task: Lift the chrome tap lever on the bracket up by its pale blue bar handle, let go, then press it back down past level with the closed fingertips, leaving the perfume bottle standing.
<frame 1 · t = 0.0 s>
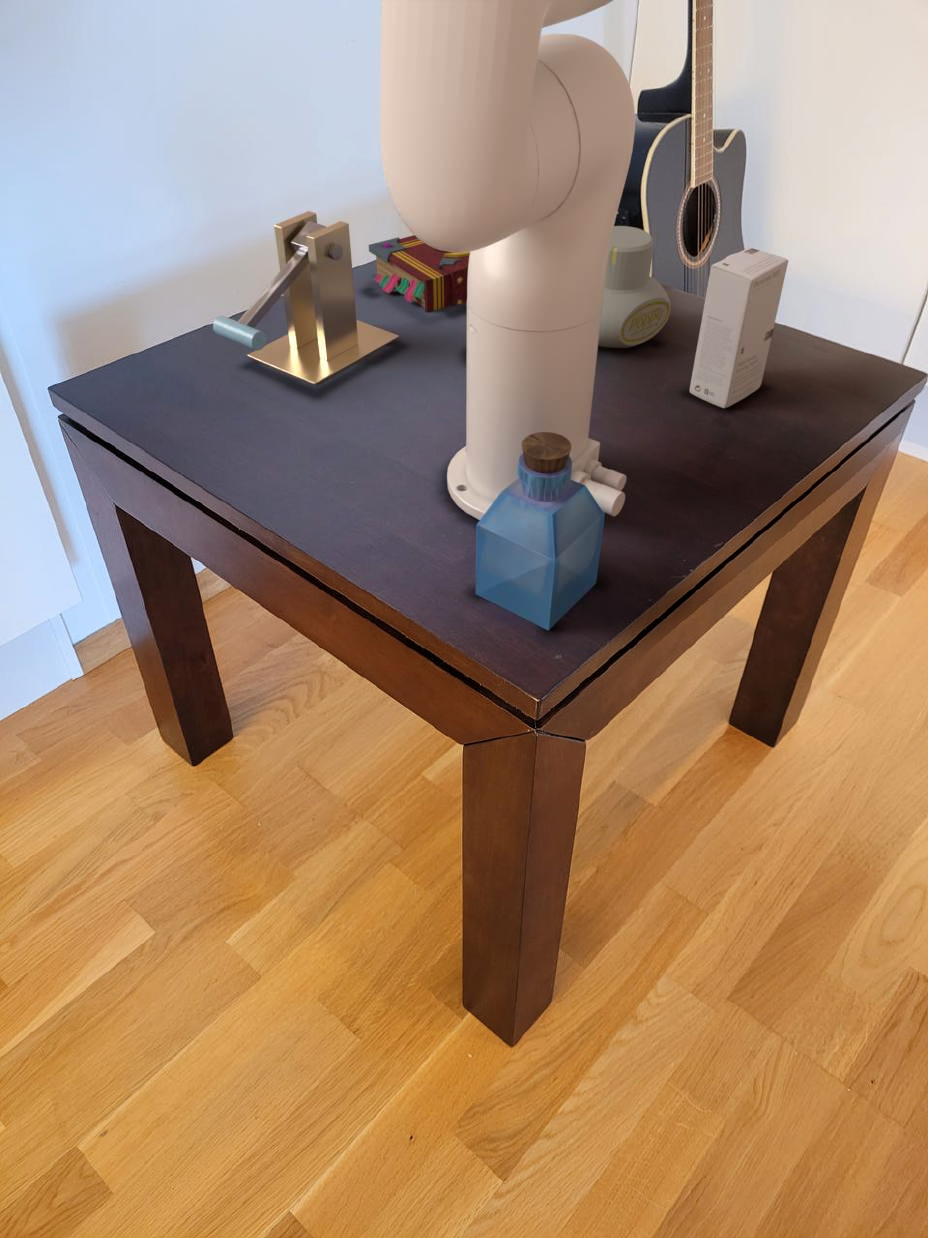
cosmetic box: (723, 391, 88), on the table
air freshener: (611, 337, 96), on the table
decorative book: (451, 289, 105), on the table
perfume bottle: (536, 590, 68), on the table
tap lever: (278, 285, 84), point 9 cm above the table, hinge at -25.0°
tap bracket: (325, 356, 93), on the table
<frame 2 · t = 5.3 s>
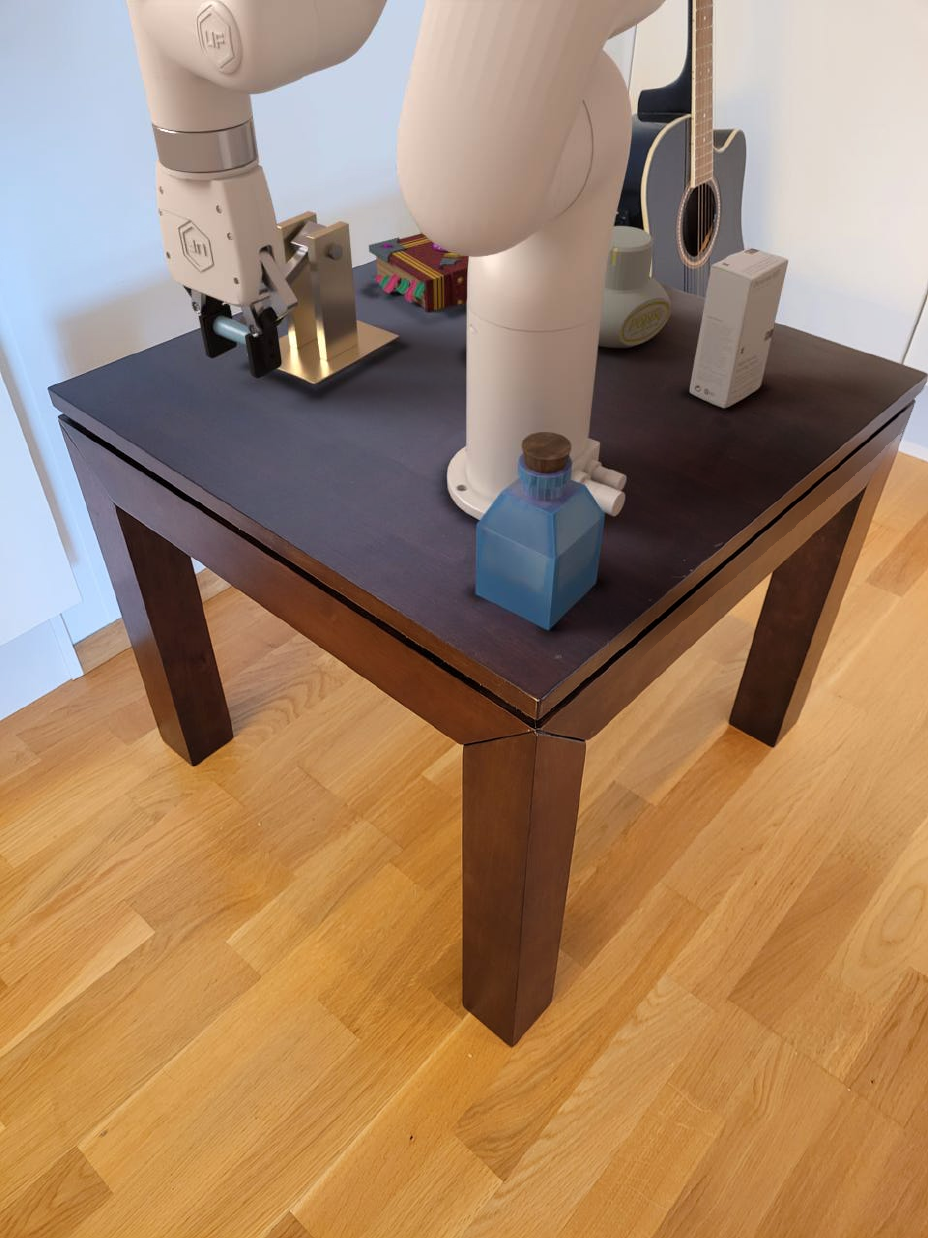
hand: (244, 359, 85), 4 cm above the table, tool pointing down, fingers closed on tap lever, 5 cm apart
tap lever: (278, 285, 84), point 9 cm above the table, hinge at -25.0°, touching gripper
everything else where it was.
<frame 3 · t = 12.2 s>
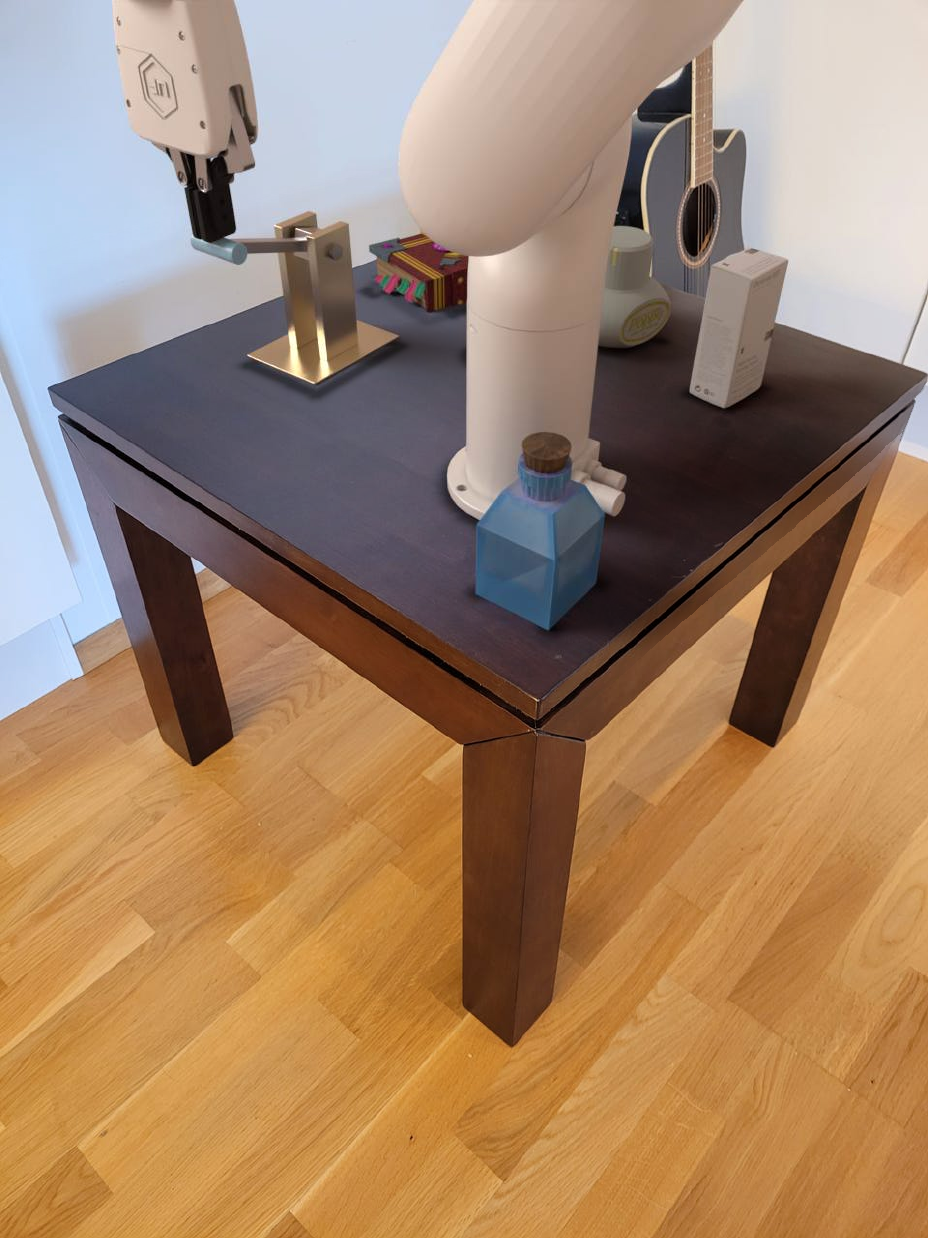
hand: (215, 234, 77), 15 cm above the table, tool pointing down, fingers closed
tap lever: (270, 245, 82), point 12 cm above the table, hinge at 16.3°, touching gripper
everything else where it was.
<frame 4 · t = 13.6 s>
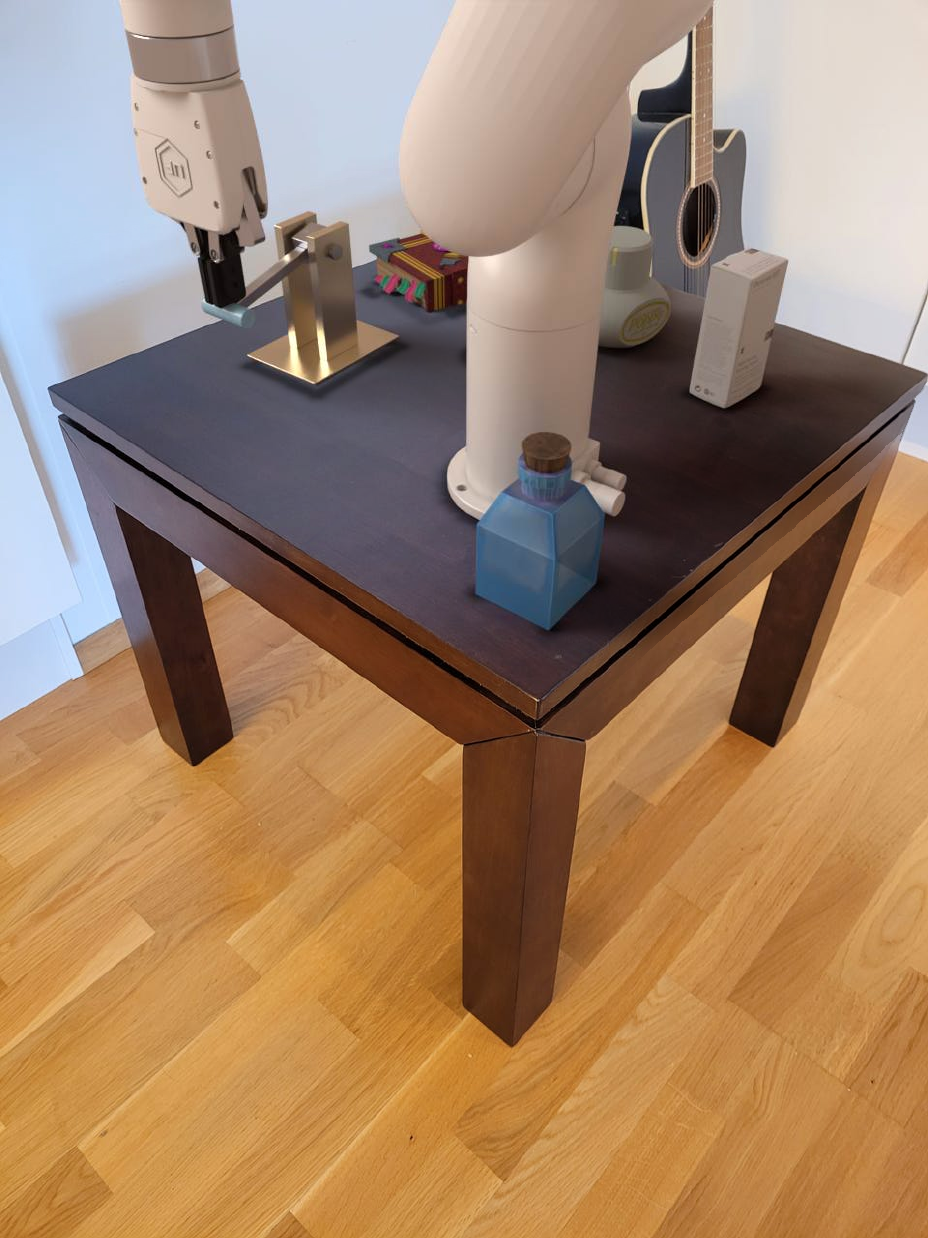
hand: (226, 299, 80), 9 cm above the table, tool pointing down, fingers closed
tap lever: (274, 275, 83), point 10 cm above the table, hinge at -12.6°, touching gripper
everything else where it was.
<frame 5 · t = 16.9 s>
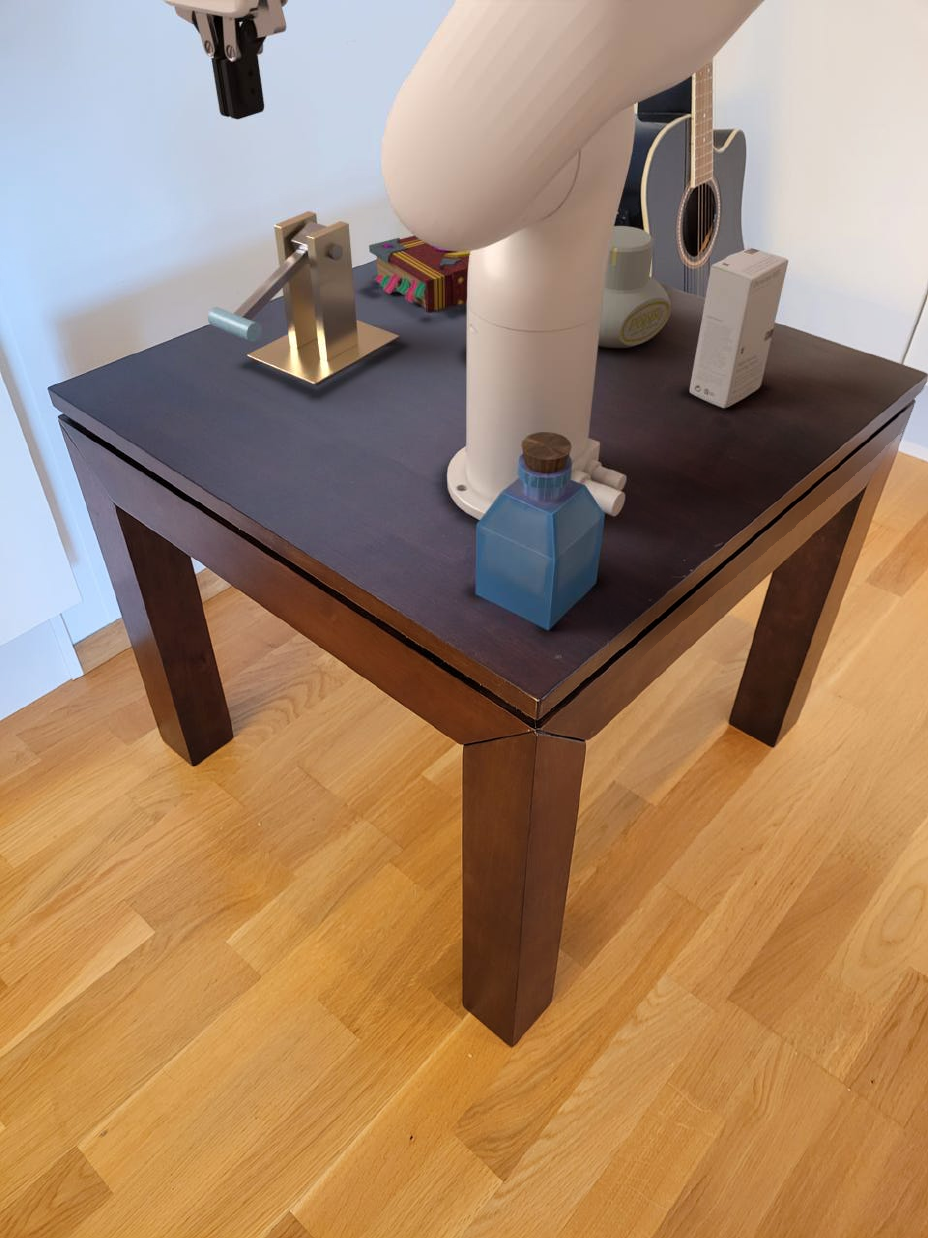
hand: (242, 112, 74), 23 cm above the table, tool pointing down, fingers closed
tap lever: (276, 281, 84), point 9 cm above the table, hinge at -19.8°
everything else where it was.
at the end: tap lever reached +23° during the clip, -20° at the end; tap lever at -20° (first picture: -25°); perfume bottle tilted 0° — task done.
